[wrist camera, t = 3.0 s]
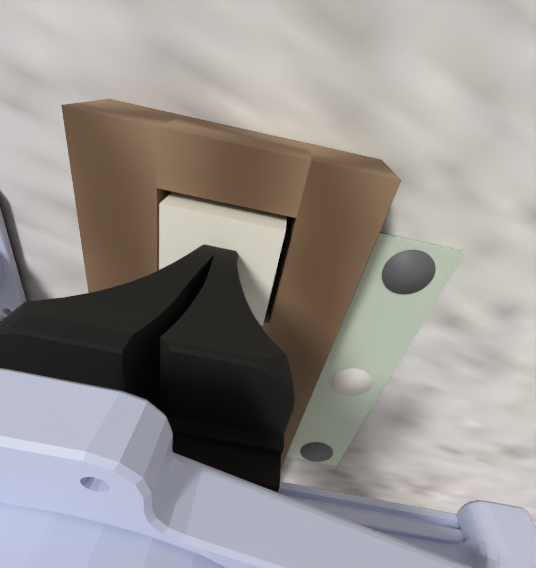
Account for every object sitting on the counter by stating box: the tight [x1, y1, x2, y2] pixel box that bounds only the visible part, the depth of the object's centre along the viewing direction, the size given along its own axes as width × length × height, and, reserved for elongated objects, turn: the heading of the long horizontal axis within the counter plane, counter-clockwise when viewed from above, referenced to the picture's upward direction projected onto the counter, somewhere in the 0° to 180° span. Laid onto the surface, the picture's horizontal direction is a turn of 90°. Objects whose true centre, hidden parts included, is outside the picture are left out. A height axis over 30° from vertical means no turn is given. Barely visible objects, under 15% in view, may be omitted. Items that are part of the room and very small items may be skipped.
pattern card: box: [286, 233, 465, 467], centre depth 20 cm, size 4×19×1 cm, turn 169°
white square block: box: [159, 192, 287, 326], centre depth 14 cm, size 4×4×3 cm
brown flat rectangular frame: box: [62, 99, 401, 467], centre depth 18 cm, size 11×25×3 cm, turn 169°
